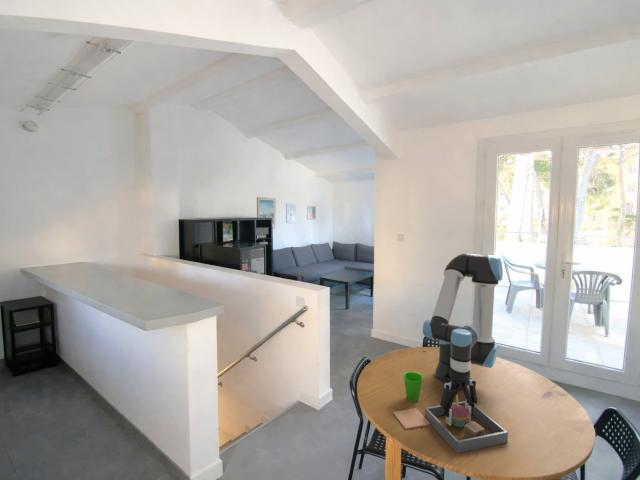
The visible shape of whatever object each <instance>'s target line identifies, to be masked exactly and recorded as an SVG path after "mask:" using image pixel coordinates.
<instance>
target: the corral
mask: <svg viewBox="0 0 640 480" xmlns="http://www.w3.org/2000/svg"><path fill="white" fill-rule="evenodd" d="M465 403H467V401H466V400H464V401H458V405H461V406H464V407H465ZM454 404H457V402H453V403H452V405H454ZM474 405H475V406H474V407H472V413H471V415H473V416H474V417H476V418H477V420H479V421H480V422H481V423H482V424H484V425H485V426H486V427H487V428H488V429H489V430H491V431H492V432H493V433H489V434H485V435H484V436H479V437H474V438H469V439H466V438H465V439H460V440H458V438H456V436H454V435H453V433H451V431H450V430H449V429H448V428H447V427H446V426H445V425H444V424H443V423H442V422H441V420H439V419H438V418H437V417H440V416H445V409H444V408H442V407H441V406H440V404H439V405H435V406H434V405H433V406H428V407H425V408H424V417H425V418H426V419H427V420H428V422H429V423H430V425H431V426H432V427H433V428H434V429H435V430H436V431H437V432H438V433H439V435H441V437H442V438H443V439H444V440H445V441H446V442H447V443H448V444H449V446H450V447H452V449H453V450H454V452H456V453H457V454H459V453H462V452H469V451H472V450H477V449H481V448H487V447H491V446H497V445H499V444H501V445H502V444H505V443H508V440H509V437H508V436H509V432H508V431H507V430H506V429H505V428H503V426H501V425H500V424H498V423H497V422H496V421H495V420H494V419H493V418H492V417H490V416H489V415H488V414H487V413H485V412H484V411H483V410H482V409H481V408H480V407H478V406H477V405H476V404H474Z"/></svg>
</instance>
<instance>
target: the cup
mask: <svg viewBox="0 0 640 480" xmlns="http://www.w3.org/2000/svg"><path fill="white" fill-rule="evenodd" d="M402 378H403V380H404V382H403V383H404V387H405V393H406V394H405V396H406V399H407V400H408V401H409V402H411V403H417V402H419V399H420V394H421V389H422V386H423V380H424V375H422V374H421V373H419V372H417V371H406V372H404V373H403V374H402Z"/></svg>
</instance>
